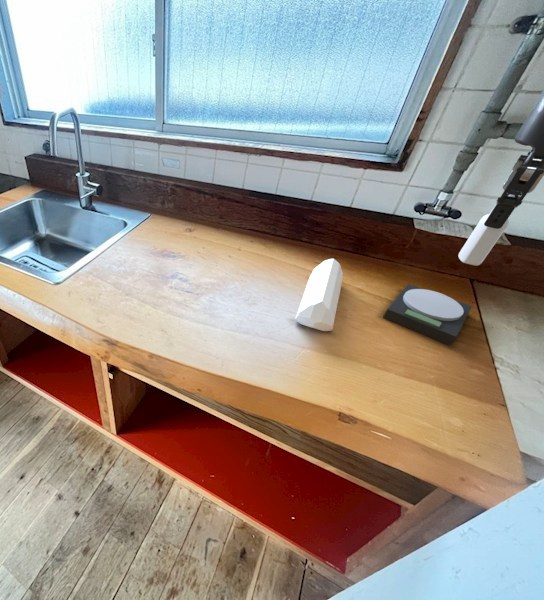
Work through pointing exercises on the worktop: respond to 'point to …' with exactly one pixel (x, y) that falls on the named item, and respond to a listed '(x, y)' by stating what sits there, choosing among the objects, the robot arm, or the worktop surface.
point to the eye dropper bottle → (481, 241)
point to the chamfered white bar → (321, 296)
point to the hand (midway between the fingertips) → (495, 221)
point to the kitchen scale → (428, 313)
